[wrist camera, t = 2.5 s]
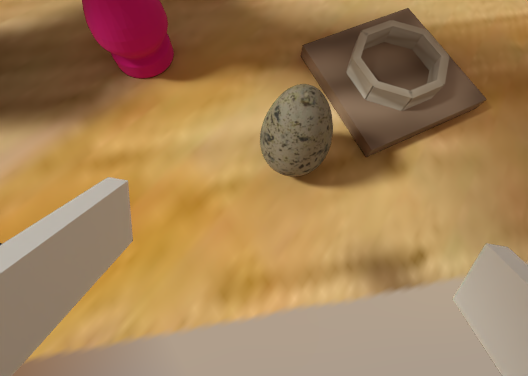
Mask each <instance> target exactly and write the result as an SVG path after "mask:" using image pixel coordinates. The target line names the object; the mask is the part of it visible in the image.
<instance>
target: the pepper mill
mask: <svg viewBox="0 0 528 376" xmlns="http://www.w3.org/2000/svg"><path fill="white" fill-rule="evenodd" d="M82 4H83V10H84V14H85V18H86V22H87V24H88V27H89V29H90V31H91V33H92V34H93V36H94V38H95V40H96V41H97V42H98V43H99V45H101V46H102V47H103V48H104V49H106V50H107V51H109V52H111V55H112V57H113V58H114V60H115V62H116V63H117V65H118V66H119V68H120V69H121V70H122V71H123V72H124V73H125V74H127V75H129V76H132V77H135V78H149V77H153V76H156V75H158V74H160V73H162V72H164V71H165V70H166V69H167V68H168V67H169V66H170V64H171V62H172V60H173V55H174V51H173V48H172V45H171V42H170V39H169V36H168V34H167V27H168V21H167V16H166V13H165V11H164V8H163V6H162V4H161V2H160V0H82Z"/></svg>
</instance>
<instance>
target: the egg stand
mask: <svg viewBox="0 0 528 376" xmlns="http://www.w3.org/2000/svg"><path fill="white" fill-rule="evenodd" d="M301 57H302V59H303V60H304V62H305V63H306V65H307V66H308V68H309V69H310V71H311V73H312V74H313V76H314V77H315V79H316V80H317V82H318V83H319V85H320V87H321V88H322V90H323V91H324V93H325V94H326V96H327V97H328V99H329V101H330V102H331V104H332V105H333V107H334V108H335V110H336V111H337V113H338V114H339V116H340V118H341V119H342V121H343V122H344V124H345V125H346V127H347V128H348V130H349V132H350V133H351V135H352V136H353V138H354V139H355V141H356V142H357V144H358V146H359V147H360V149H361V150H362V152H363V153H364V155H365V156H366V157H367V156H370V155H372V154H374V153H376V152H379V151H381V150H383V149H385V148H388V147H390V146H392V145H394V144H397V143H399V142H401V141H403V140H406V139H408V138H410V137H412V136H414V135H417V134H419V133H421V132H423V131H426V130H428V129H430V128H432V127H435V126H437V125H439V124H441V123H444V122H446V121H448V120H450V119H453V118H455V117H457V116H459V115H462V114H464V113H466V112H468V111H471V110H473V109H475V108H477V107H478V106H479V105H480V104H482V103H483V102H484V101H485V100H487V99H486V98H485V97H484V96H483V94H482V93H481V92H480V91H479V90H478V89H477V87H476V86H475V85H474V84H473V83H472V82H471V81H470V79H469V78H468V77H467V76H466V75H465V74H464V72H463V71H462V70H461V69H460V68H459V67H458V65H457V64H456V63H455V62H454V61H453V60H452V58H451V57H450V56H449V55H448V53H447V52H446V51H445V50H444V49H443V48H442V46H441V45H440V44H439V43H438V42H437V41H436V39H435V38H434V37H433V36H432V35H431V34H430V33H429V31H428V30H427V29H426V28H425V27H424V26H423V25H422V24H421V22H420V21H419V20H418V19H417V18H416V17H415V15H414V14H413V13H412V12H411V11H410V10H409V8H407V9H404V10H401V11H398V12H395V13H393V14H390V15H387V16H384V17H381V18H378V19H376V20H373V21H370V22H367V23H364V24H361V25H359V26H356V27H353V28H350V29H347V30H344V31H342V32H339V33H336V34H333V35H330V36H328V37H325V38H322V39H319V40H316V41H313V42H311V43H308V44H305V45H303V47H302V52H301Z"/></svg>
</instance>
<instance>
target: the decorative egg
mask: <svg viewBox="0 0 528 376" xmlns="http://www.w3.org/2000/svg"><path fill="white" fill-rule="evenodd" d="M332 133H333V123H332V114H331V110H330V106H329V104H328V102H327V100H326V98H325V96H324V95H323V94H322V93H321V92H320V90H318V89H317V88H315V87H314V86H311V85H307V84H300V85H296V86H293V87H291V88H289V89H287V90H286V91H285V92H283V93H282V94H281V95H280V96H279V97H278V98H277V99H276V101H275V102H274V103H273V105H272V106H271V108H270V109H269V111H268V113H267V115H266V117H265V119H264V122H263V125H262V128H261V134H260V145H261V151H262V154H263V156H264V158H265V160H266V162H267V163H268V164H269V166H270V167H271V168H272V169H274V170H275V171H276V172H278V173H280V174H283V175H286V176H301V175H305V174H307V173H309V172H311V171H313V170H314V169H316V168H317V167H318V166H319V165H320V164H321V163H322V161H323V160H324V158H325V157H326V155H327V153H328V151H329V148H330V145H331V140H332Z"/></svg>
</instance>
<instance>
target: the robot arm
mask: <svg viewBox="0 0 528 376" xmlns="http://www.w3.org/2000/svg"><path fill="white" fill-rule="evenodd" d="M132 241H133V237H132V225H131V213H130V201H129V189H128V181H127V180H121V179H115V178H109V177H107V178H106V179H104V180H103V181H101V182H100V183H98V184H96V185H95V186H93V187H92V188H90V189H89V190H87V191H85V192H84V193H82V194H81V195H79V196H77V197H76V198H74V199H73V200H71V201H70V202H68V203H66V204H65V205H63V206H62V207H60V208H58V209H57V210H55V211H54V212H52V213H51V214H49V215H47V216H46V217H44V218H43V219H41V220H40V221H38V222H36V223H35V224H33V225H32V226H30V227H28V228H27V229H25V230H24V231H22V232H21V233H19V234H17V235H16V236H14V237H13V238H11V239H10V240H8V241H6V242H5V243H3V244H2V243H0V376H12V375H13V374H14V373H15V372H16V371H17V369H18V368H19V367H20V366H21V365H22V364H23V363H24V362H25V361H26V359H27V358H28V357H29V356H30V355H31V354H32V353H33V352H34V351H35V349H36V348H37V347H38V346H39V345H40V344H41V343H42V342H43V340H44V339H45V338H46V337H47V336H48V335H49V334H50V333H51V332H52V330H53V329H54V328H55V327H56V326H57V325H58V324H59V323H60V321H61V320H62V319H63V318H64V317H65V316H66V315H67V314H68V313H69V311H70V310H71V309H72V308H73V307H74V306H75V305H76V304H77V302H78V301H79V300H80V299H81V298H82V297H83V296H84V295H85V294H86V292H87V291H88V290H89V289H90V288H91V287H92V286H93V285H94V283H95V282H96V281H97V280H98V279H99V278H100V277H101V276H102V275H103V273H104V272H105V271H106V270H107V269H108V268H109V267H110V266H111V264H112V263H113V262H114V261H115V260H116V259H117V258H118V257H119V256H120V254H121V253H122V252H123V251H124V250H125V249H126V248H127V247H128V245H129V244H130V243H131V242H132ZM453 301H454V302H455V304H456V306H457V307H458V309H459V310H460V312H461V313H462V315H463V316H464V318H465V319H466V321H467V323H468V324H469V325H470V327H471V329H472V330H473V332H474V333H475V335H476V336H477V338H478V339H479V341H480V343H481V344H482V346H483V347H484V349H485V350H486V352H487V353H488V355H489V356H490V358H491V360H492V361H493V363H494V364H495V366H496V367H497V369H498V370H499V372H500V374H501V375H502V376H528V265H527V264H526V263H525V262H524V261H523V260H522V259H521V258H519V257H518V256H517V255H516V254H515V253H514V252H513V251H512V250H510V249H509V248H508V247H505V246H499V245H493V244H487V243H486V244H485V245H484V247H483V249H482V250H481V252H480V254H479V255H478V257H477V259H476V260H475V262H474V264H473V265H472V267H471V269H470V270H469V272H468V274H467V275H466V277H465V279H464V280H463V282H462V284H461V285H460V287H459V289H458V290H457V292H456V294H455V295H454V297H453Z"/></svg>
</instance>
